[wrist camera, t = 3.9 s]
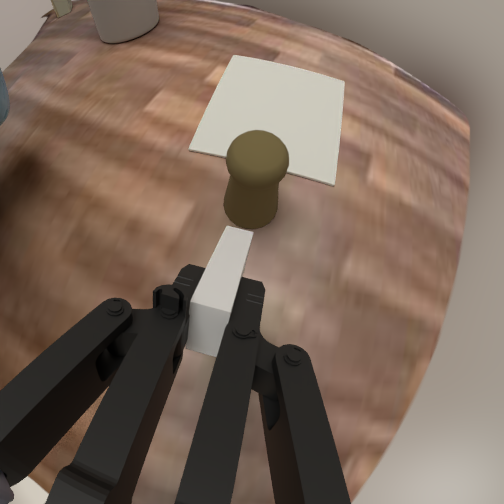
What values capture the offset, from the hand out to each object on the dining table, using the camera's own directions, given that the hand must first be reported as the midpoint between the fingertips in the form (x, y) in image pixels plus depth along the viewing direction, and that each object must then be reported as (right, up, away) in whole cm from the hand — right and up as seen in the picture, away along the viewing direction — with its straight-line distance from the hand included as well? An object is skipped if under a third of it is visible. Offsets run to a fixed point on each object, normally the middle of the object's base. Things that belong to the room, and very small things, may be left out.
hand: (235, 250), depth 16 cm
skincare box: (-51, +67, +28) cm, 89 cm away
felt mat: (+4, +19, +19) cm, 28 cm away
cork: (+1, +5, +16) cm, 17 cm away
